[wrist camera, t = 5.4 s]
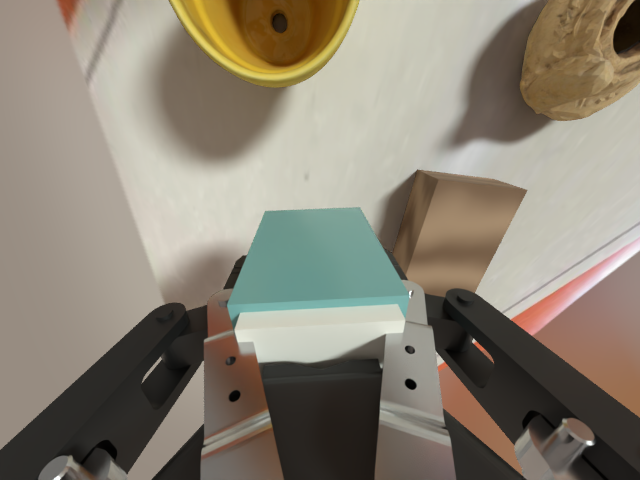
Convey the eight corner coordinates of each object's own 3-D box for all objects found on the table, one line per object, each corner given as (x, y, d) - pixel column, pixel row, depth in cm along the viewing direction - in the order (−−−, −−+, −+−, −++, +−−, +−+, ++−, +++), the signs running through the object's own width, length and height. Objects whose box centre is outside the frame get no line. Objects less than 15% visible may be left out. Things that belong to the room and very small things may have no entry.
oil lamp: (690, -21, 20) (898, -95, 13) (539, 144, 26) (629, 154, 19) (623, -132, 17) (846, -307, 10) (469, 81, 23) (543, 64, 16)
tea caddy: (265, 211, 13) (219, 322, 6) (359, 207, 13) (418, 310, 6) (275, 286, 15) (251, 427, 8) (355, 282, 15) (394, 417, 8)
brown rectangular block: (416, 169, 27) (438, 179, 22) (491, 178, 27) (527, 190, 23) (385, 274, 33) (397, 298, 28) (447, 278, 34) (469, 303, 29)
